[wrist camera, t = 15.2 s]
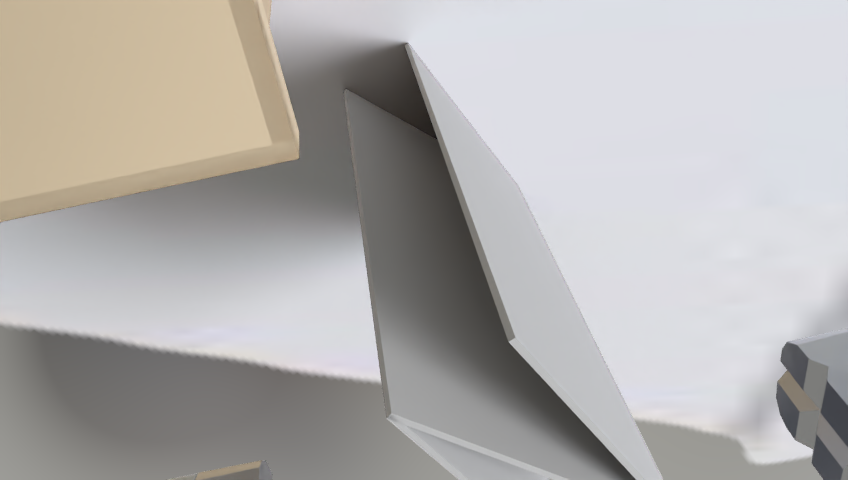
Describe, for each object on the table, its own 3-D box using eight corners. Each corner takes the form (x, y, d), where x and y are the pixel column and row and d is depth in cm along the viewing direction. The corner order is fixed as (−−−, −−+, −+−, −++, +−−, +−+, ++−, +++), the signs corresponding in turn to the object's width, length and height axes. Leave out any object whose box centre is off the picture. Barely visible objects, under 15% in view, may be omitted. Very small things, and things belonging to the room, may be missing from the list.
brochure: (342, 91, 52) (384, 417, 27) (407, 41, 51) (514, 336, 26) (459, 225, 59) (576, 579, 34) (518, 185, 58) (684, 522, 33)
